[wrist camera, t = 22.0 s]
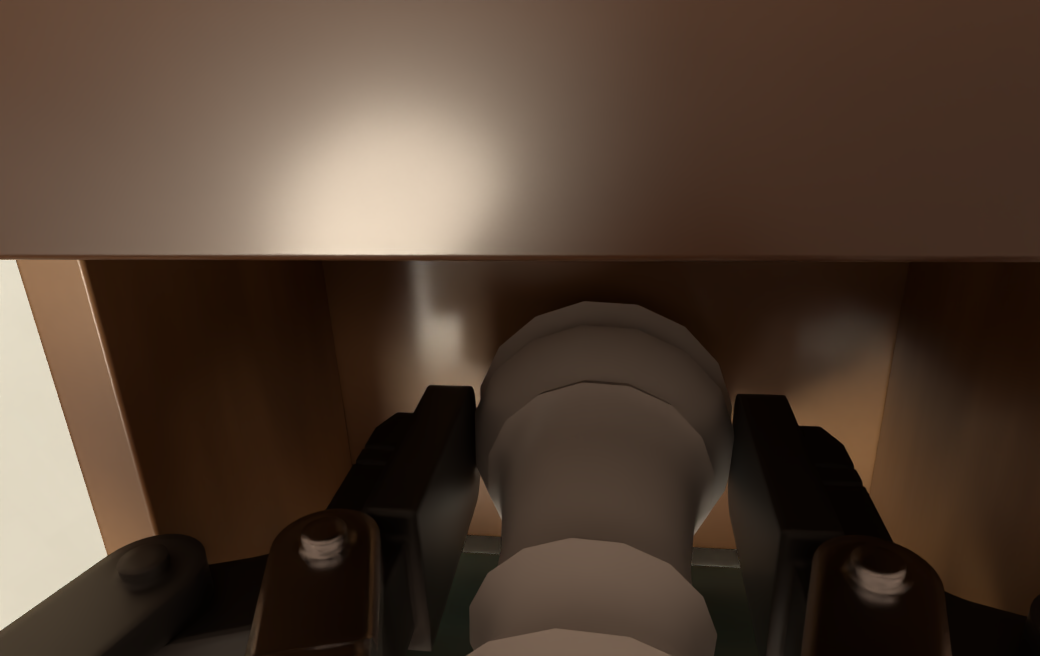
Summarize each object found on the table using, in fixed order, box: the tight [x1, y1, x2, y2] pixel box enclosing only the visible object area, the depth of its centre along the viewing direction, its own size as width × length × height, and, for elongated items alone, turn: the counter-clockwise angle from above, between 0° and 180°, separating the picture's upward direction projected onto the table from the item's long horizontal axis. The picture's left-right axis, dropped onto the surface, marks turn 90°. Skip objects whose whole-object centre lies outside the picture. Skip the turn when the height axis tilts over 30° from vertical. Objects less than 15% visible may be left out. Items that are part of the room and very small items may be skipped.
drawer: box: [16, 260, 1040, 656], centre depth 12 cm, size 20×13×7 cm, turn 2°
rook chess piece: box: [466, 301, 734, 656], centre depth 10 cm, size 4×4×8 cm
